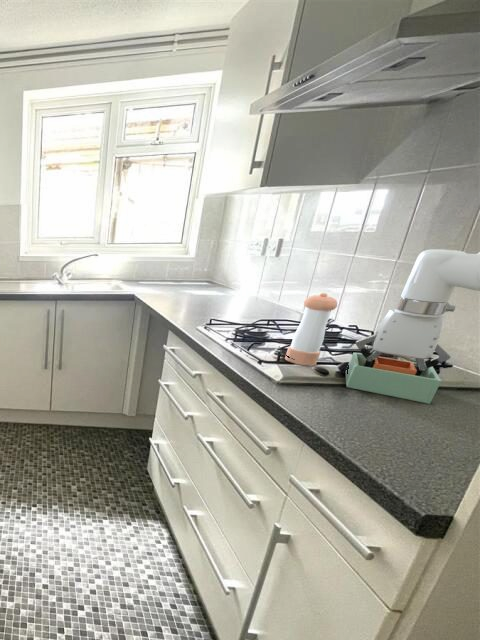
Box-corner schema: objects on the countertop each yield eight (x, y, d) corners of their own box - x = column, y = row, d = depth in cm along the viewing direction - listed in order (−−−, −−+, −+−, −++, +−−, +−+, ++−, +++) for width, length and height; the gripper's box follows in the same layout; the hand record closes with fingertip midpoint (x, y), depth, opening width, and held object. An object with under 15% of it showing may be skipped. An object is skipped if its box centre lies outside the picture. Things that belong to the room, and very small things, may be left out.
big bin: (421, 386, 102) (432, 365, 99) (429, 403, 93) (441, 381, 91) (345, 372, 110) (353, 352, 108) (346, 387, 101) (355, 365, 99)
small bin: (403, 381, 101) (412, 362, 99) (407, 390, 96) (417, 370, 94) (365, 374, 105) (373, 355, 103) (367, 382, 100) (375, 363, 98)
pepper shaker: (322, 363, 116) (348, 294, 108) (305, 367, 113) (331, 297, 105) (294, 355, 122) (317, 289, 114) (278, 358, 119) (300, 291, 112)
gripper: (472, 310, 91) (435, 384, 98) (367, 298, 101) (340, 366, 108) (481, 317, 86) (440, 394, 93) (369, 304, 96) (340, 375, 103)
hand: (387, 379), depth 101 cm, fingers closed on small bin, 7 cm apart
